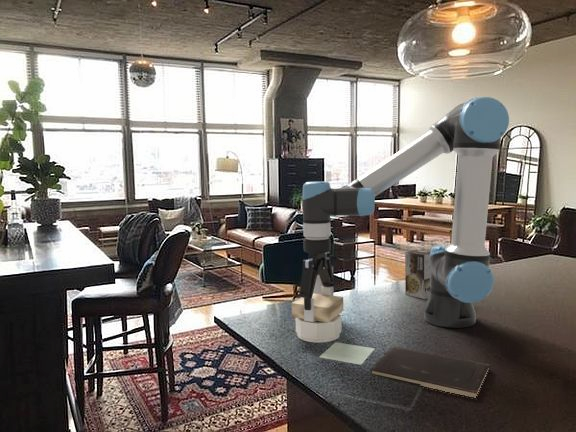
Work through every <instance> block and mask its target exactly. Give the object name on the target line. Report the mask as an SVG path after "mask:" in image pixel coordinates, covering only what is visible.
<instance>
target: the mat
mask: <svg viewBox="0 0 576 432" xmlns="http://www.w3.org/2000/svg"><path fill="white" fill-rule="evenodd" d="M375 349H376V348H375V347H374V348H373V347H368V346H363V345H362V346H361V345H356V344H355V345H354V344H348V343H342V342H337V341H335V342H334V343H332V345H330V347H329V348H328V349H326V350H325V351H324V352H323V353H321V355H320V356H319V358H321V359H326V360H332V361H338V362H344V363H349V364H353V365H355V364H356V365H360V366H361V365H362V364H363V363H364V362H365V361H366V359H367V358H369V356H371V354H372V353H373V352H374V350H375Z"/></svg>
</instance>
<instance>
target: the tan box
mask: <svg viewBox="0 0 576 432" xmlns="http://www.w3.org/2000/svg"><path fill="white" fill-rule="evenodd" d="M312 297H313V298H314V320H315V321H322V322H330V321H331V320H332V319H334V318H335V317H336V316H337V315H341V314H342V312H343V311H344V296H338V295H334V296H331V295H323V294H314V292H313V296H312ZM291 318H301V319H304V298H302V297H299V298H297V299H296V300H294V301H293V302H291Z"/></svg>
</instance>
